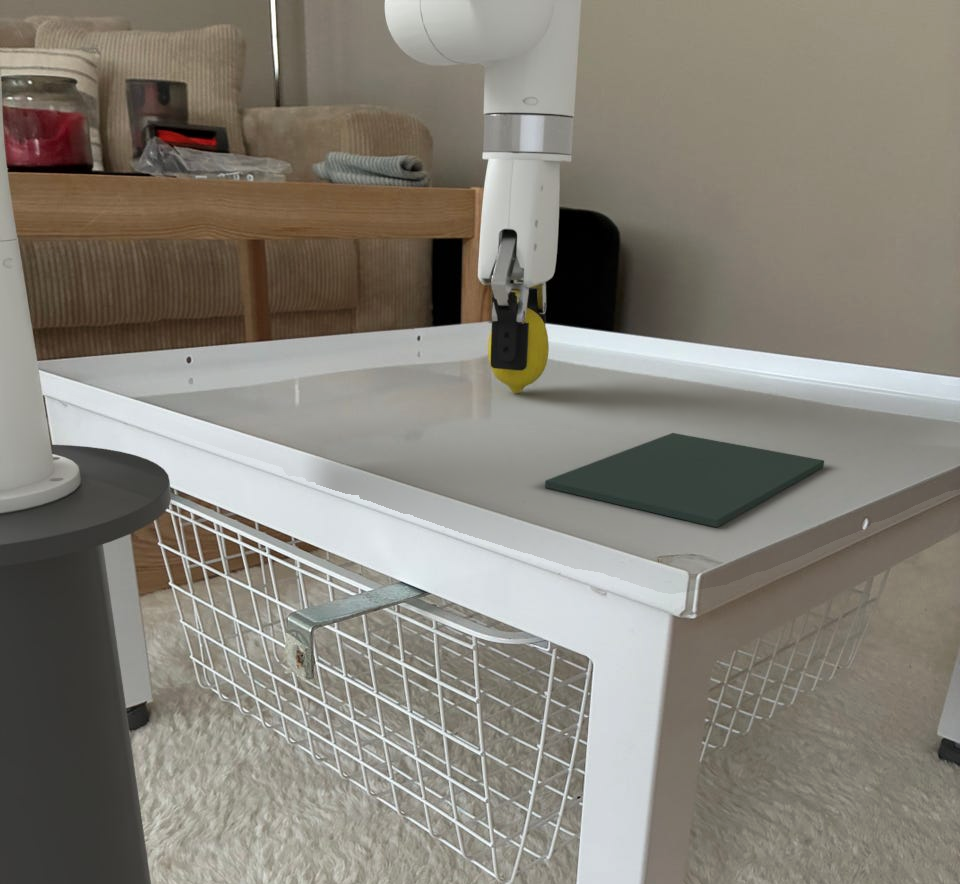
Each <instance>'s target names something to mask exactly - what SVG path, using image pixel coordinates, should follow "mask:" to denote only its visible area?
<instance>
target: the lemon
mask: <svg viewBox="0 0 960 884" xmlns="http://www.w3.org/2000/svg"><path fill="white" fill-rule="evenodd" d="M524 323H529V331H528V351H527V367H526V368H525V369H524V370H509V369H497V368H493V367H492V366H491V334H492V328H490V333H489V337H488V343H487V358H488V364H489V366H490V369H491V371H492V373H493V375H494V376H495V378H496V379H497V380H498V381H500V382H501V383H503V384H504V385H506V386H507V387H508V388H509V389H510V391H511V392H512V393H513V394H520V393H521V392H522V391H523V390H524V389H525V387H527V386H529V385H531V384H533V383H535V382H536V381H537V380H538V379H539V378H540V377H541V376H542V375H543V373H544V371H545V370H546V367H547V364H548V360H549V353H550V352H549V350H550V347H549V344H550V343H549V336H548V335H549V334H548V331H547V327H546V323H545V324H544V322H543V320H542V319H541V317H540V316H539V315H538V314H537V313H536V312H534V311H533V310H531V309H529V308H527V309H526V317H525V322H524Z"/></svg>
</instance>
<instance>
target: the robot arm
mask: <svg viewBox="0 0 960 884" xmlns="http://www.w3.org/2000/svg"><path fill="white" fill-rule="evenodd" d="M581 13H582V0H384V16H385V22H386V25H387V29H388V31H389V33H390V35H391V38H392V39H393V40H394V42H395V44H396V45H397V46H398V47H399V49H400V50H401V51H402V52H403V53H404V54H406V55H407V56H408V57H410V58H411V59H413V60H415V61H417V62H418V63H421V64H424V65H428V66H434V67H447V66H457V65H458V66H459V65H472V64H473V65H474V64H475V65H481V66H483V67H484V81H483V82H484V84H483V119H482V120H483V122H482V160H487V165H486V171H485V177H484V186H483V193H482V194H483V195H482V203H481V204H482V205H481V215H480V217H481V218H480V231H479V232H480V233H479V245H478V262H477V278H478V281H479V282H480V283H481V284H482V285H483V286H491V291H492V297H491V301H492V310H491V329H492V334H491V366H492V367H493V368H497V369H509V370H524V369H525V368H526V367H527V351H528V331H529V323H524V322H525V317H526V309H527V308H529V309H531V310H533V311H534V312H536V313H537V314H538V315H539V316H540V317H541V319H542V320H543V322H544V324H545V325H546V323H547V322H546V320H547V314H546V311H547V288H548V287H547V282H549V281H550V280H551V279H552V278H553V277H554V274H555V272H556V265H557V255H558V246H559V245H558V244H559V224H560V222H559V221H560V193H561V192H560V190H561V184H560V182H561V181H560V180H561V170H560V169H561V163H572V155H573V143H574V142H573V141H574V125H575V110H576V109H575V107H576V94H577V93H576V91H577V78H578V77H577V76H578V62H579V45H580V44H579V43H580V29H581ZM2 87H3V86H2V72H1V69H0V514H4V513H10V512H15V511H21V510H25V509H29V508H34V507H38V506H41V505H45V504H48V503H51V502H54V501H56V500H59V499H61V498H63V497H66V496H67V495H69V494H71V493H72V492H74V491H75V490H76V489H77V488H78V486H79V485H80V482H81V477H80V472H79V467H78V465H77V464H76V463H75V462H73V461H72V460H69V459H67V458H65V457H62V456H58V455H54V454H52V450H51V445H52V443H51V438H50V433H49V432H50V431H49V425H48V418H47V414H46V413H47V412H46V407H45V401H44V393H43V388H42V382H41V375H40V374H41V373H40V368H39V361H38V356H37V349H36V343H35V337H34V332H33V331H34V330H33V325H32V319H31V318H32V317H31V312H30V306H29V301H28V300H29V298H28V293H27V287H26V282H25V281H26V280H25V273H24V268H23V262H22V255H21V250H20V248H21V247H20V242H19V237H18V232H17V227H16V220H15V214H14V207H13V200H12V195H11V194H12V193H11V187H10V179H9V172H8V171H9V170H8V164H7V154H6V146H5V131H4V117H3V116H4V113H3V112H4V111H3V90H2V89H3V88H2ZM511 281H513V282H511Z"/></svg>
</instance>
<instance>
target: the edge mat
mask: <svg viewBox="0 0 960 884" xmlns="http://www.w3.org/2000/svg"><path fill="white" fill-rule="evenodd" d="M824 465H825V460H824V459H819V458H813V457H808V456H802V455H798V454H793V453H792V454H791V453H786V452H780V451H775V450H770V449H765V448H764V449H763V448H759V447H753V446H747V445H741V444H738V443H737V444H736V443H731V442H726V441H720V440H714V439H710V438H709V439H707V438H704V437H698V436H693V435H685V434H681V433H677V432H672V433H669V434H666V435H663V436H661V437H658V438H656V439H652V440H650V441H647V442H645V443H642V444H639V445H637V446H633V447H631V448H628V449H626V450H623V451H620V452H618V453H615V454H612V455H610V456H607V457H603V458H602V459H599V460H597V461H594V462H591V463H588V464H586V465H582V466H580V467H578V468H574V469H573V470H569V471H567V472H564V473H562V474H559V475H556V476H554V477H551V478H548V479H546V480H544V481H545V483H544V487H545V488H546V489H550V490H553V491H558V492H563V493H567V494H571V495H576V496H580V497H585V498H588V499H593V500H596V501H601V502H606V503H611V504H615V505H618V506H623V507H626V508H631V509H636V510H640V511H644V512H649V513H653V514H657V515H662V516H666V517H669V518H675V519H679V520H683V521H688V522H692V523H696V524H700V525H705V526H708V527H713V528H719V527H720V526H722V525H724V524H725V523H727V522H729V521H732V520H733V519H734V518H736V517H738V516H740V515H741V514H744V513H745V512H747V511H748V510H750V509H752V508H753V507H756V506H758V505H759V504H761V503H763V502H765V501H766V500H768V499H769V498H771V497H773V496H776V494H778V493H780V492H782V491H784V490H786V489H787V488H789V487H791V486H792V485H794V484H796V483H798V482H799V481H801V480H803V479H805V478H806V477H809V476H810V475H812V474H813V473H815V472H818V470H821V469H823V467H824Z"/></svg>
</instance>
